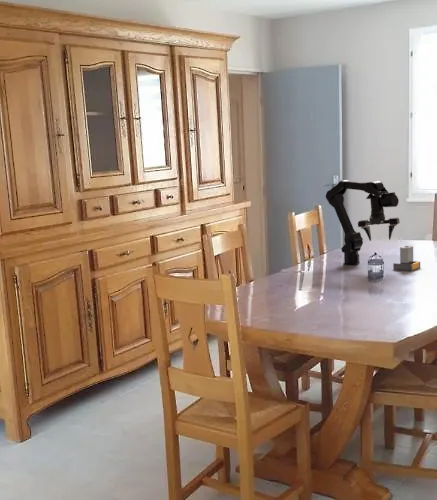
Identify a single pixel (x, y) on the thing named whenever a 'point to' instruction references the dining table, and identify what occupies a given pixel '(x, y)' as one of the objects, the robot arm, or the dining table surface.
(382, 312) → the dining table surface
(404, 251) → the grey upright block
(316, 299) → the dining table surface
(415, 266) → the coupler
